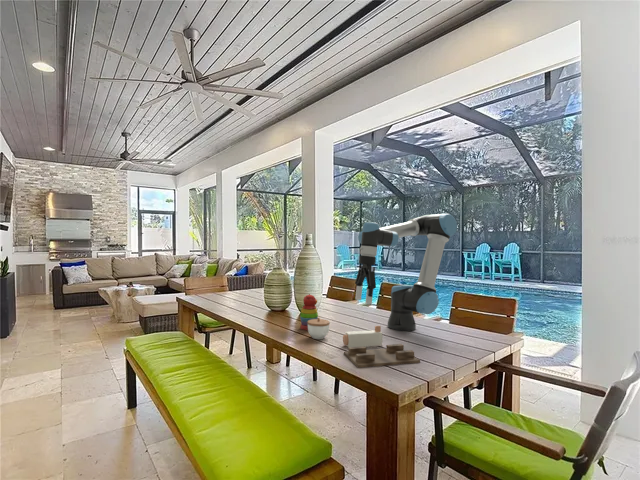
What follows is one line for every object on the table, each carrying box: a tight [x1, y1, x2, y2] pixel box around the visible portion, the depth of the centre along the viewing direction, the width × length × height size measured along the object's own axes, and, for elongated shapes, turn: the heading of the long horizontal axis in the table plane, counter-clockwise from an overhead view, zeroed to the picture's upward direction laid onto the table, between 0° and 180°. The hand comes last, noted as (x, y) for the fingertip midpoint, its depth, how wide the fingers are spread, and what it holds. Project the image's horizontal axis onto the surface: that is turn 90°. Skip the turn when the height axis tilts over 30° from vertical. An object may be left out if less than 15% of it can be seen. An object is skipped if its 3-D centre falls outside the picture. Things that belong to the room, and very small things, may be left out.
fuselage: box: [342, 325, 383, 348], centre depth 158 cm, size 17×4×8 cm, turn 104°
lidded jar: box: [307, 317, 331, 340], centre depth 169 cm, size 11×11×9 cm
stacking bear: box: [299, 293, 319, 331], centre depth 186 cm, size 11×10×18 cm
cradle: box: [343, 343, 421, 369], centre depth 141 cm, size 26×16×4 cm, turn 105°
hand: (363, 301), depth 161 cm, fingers open, 13 cm apart
